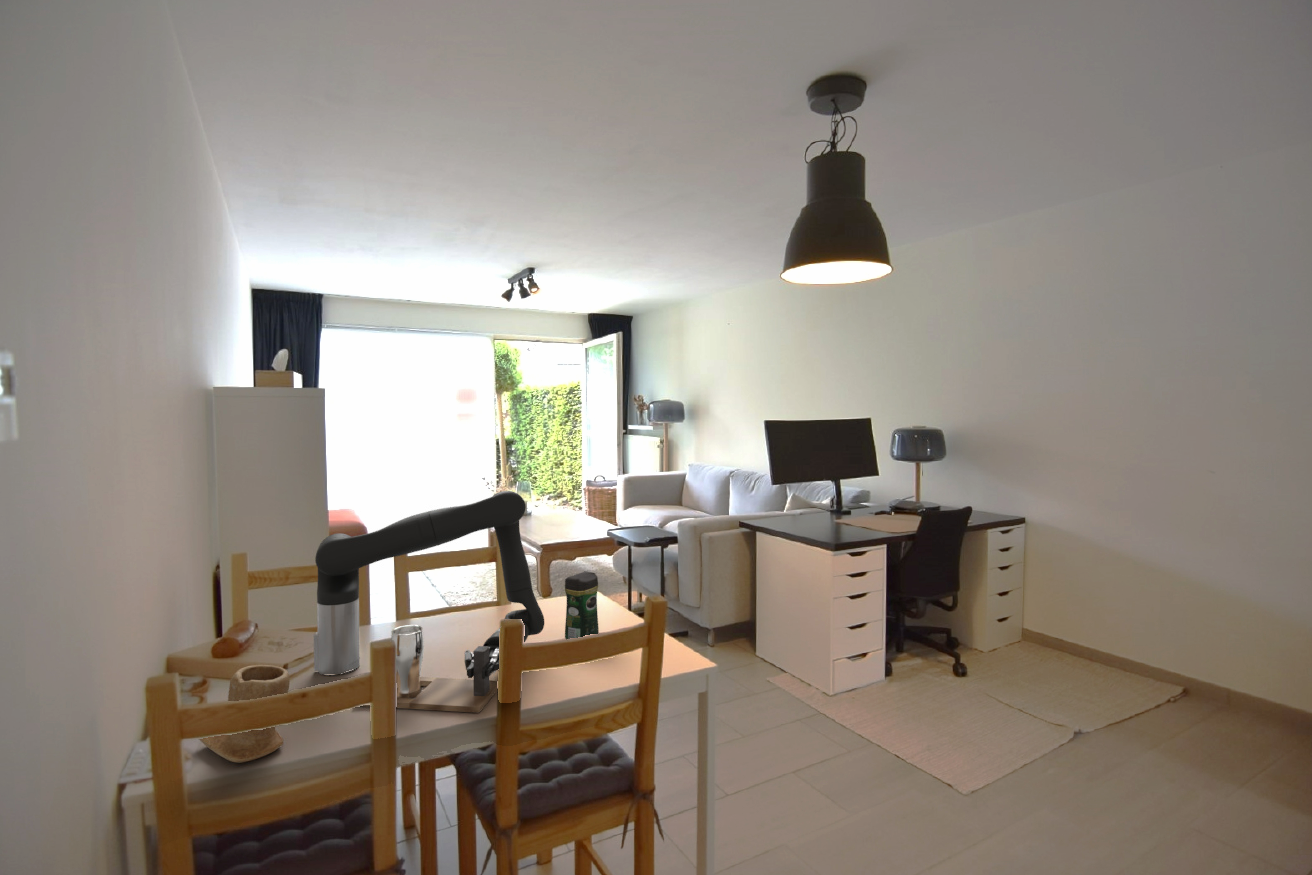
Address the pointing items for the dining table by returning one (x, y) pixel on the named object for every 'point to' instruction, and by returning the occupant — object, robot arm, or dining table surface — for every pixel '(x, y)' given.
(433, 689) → the board with upright block
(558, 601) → the dining table surface
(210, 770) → the dining table surface
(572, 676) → the dining table surface
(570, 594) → the coffee jar
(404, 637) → the beer glass
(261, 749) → the stone cup
